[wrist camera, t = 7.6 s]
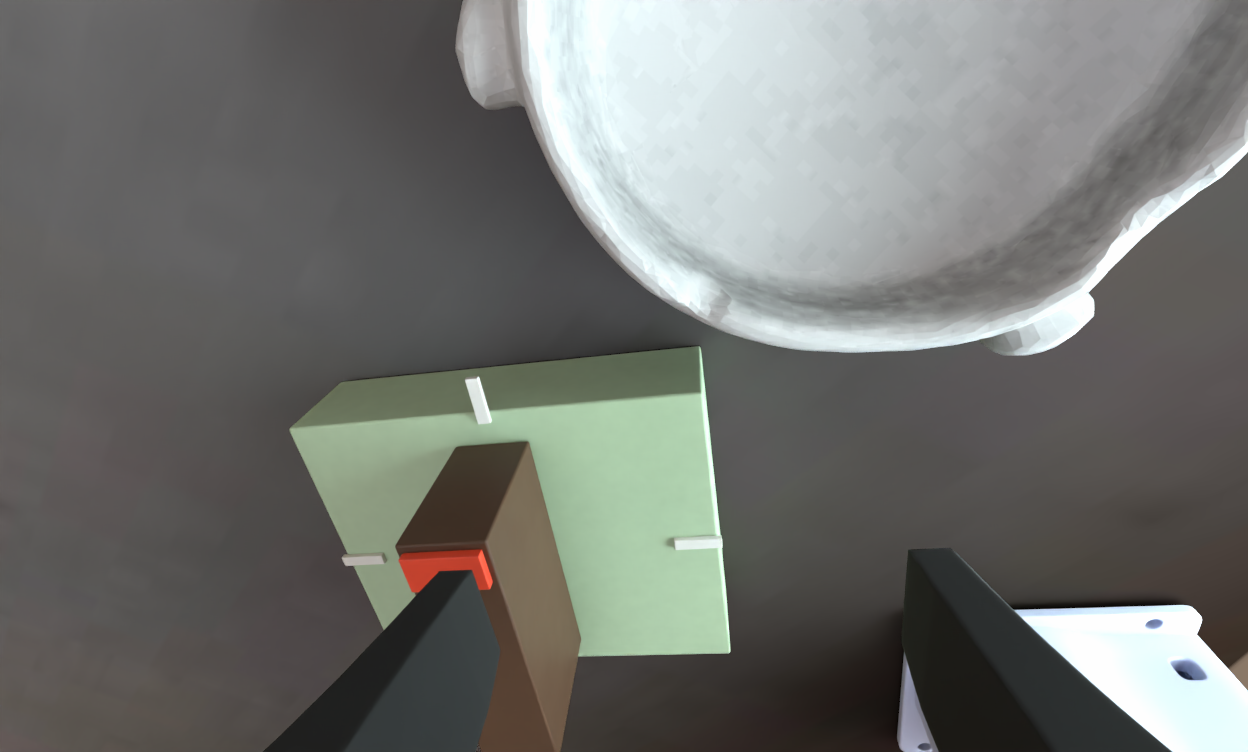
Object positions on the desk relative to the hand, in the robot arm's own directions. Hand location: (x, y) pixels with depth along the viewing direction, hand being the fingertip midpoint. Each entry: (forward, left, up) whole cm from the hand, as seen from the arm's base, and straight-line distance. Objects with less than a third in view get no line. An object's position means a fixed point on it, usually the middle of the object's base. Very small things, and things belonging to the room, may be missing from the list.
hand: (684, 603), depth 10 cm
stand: (+6, +4, -9) cm, 12 cm away
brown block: (+6, +5, -6) cm, 10 cm away
